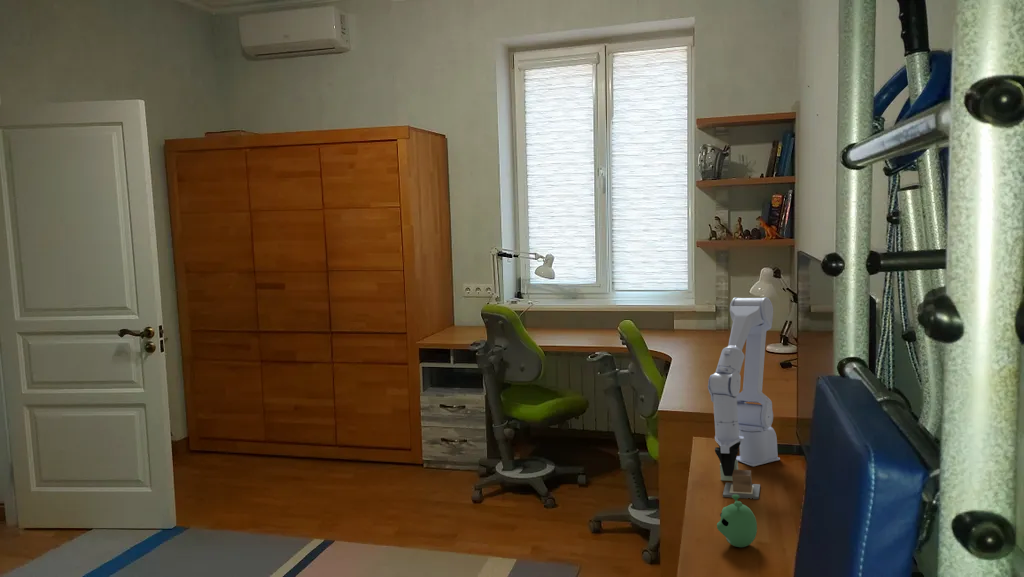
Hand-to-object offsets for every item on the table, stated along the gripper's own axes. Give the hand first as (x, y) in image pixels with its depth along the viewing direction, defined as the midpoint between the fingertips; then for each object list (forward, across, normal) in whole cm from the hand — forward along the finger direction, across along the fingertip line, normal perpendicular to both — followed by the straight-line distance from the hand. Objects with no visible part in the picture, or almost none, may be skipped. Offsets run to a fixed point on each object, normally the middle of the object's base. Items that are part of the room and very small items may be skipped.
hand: (729, 472), depth 177 cm
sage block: (+1, 0, 0) cm, 1 cm away
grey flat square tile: (+1, -9, -4) cm, 10 cm away
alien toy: (+2, -38, -5) cm, 39 cm away
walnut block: (+1, -9, -4) cm, 10 cm away
